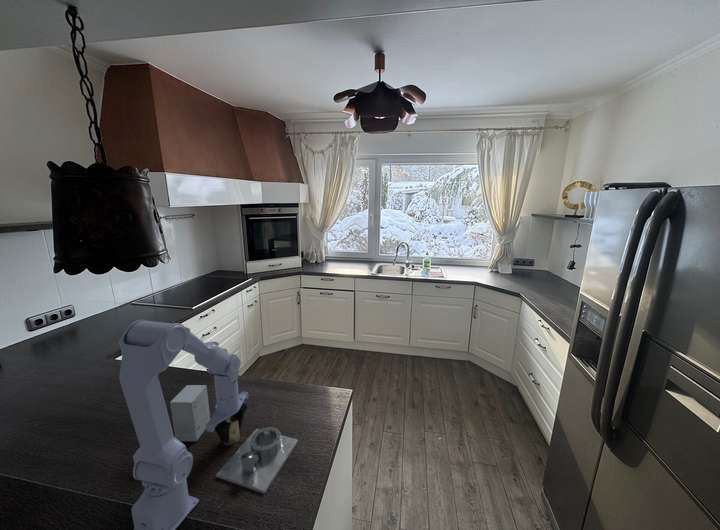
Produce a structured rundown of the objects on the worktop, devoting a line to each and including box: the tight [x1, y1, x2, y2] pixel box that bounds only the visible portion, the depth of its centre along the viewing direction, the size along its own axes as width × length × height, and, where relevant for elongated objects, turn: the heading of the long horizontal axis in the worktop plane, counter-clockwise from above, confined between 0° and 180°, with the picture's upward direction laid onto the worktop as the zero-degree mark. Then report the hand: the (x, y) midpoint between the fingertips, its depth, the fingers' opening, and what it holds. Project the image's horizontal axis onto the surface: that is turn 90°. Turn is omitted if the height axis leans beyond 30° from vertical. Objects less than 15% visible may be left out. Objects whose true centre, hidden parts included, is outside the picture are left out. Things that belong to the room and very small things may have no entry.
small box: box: [169, 384, 211, 442], centre depth 85 cm, size 8×6×13 cm
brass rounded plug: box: [222, 416, 241, 446], centre depth 83 cm, size 4×4×6 cm
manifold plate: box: [215, 426, 299, 494], centre depth 77 cm, size 16×14×5 cm
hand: (231, 434), depth 83 cm, fingers closed on brass rounded plug, 4 cm apart
